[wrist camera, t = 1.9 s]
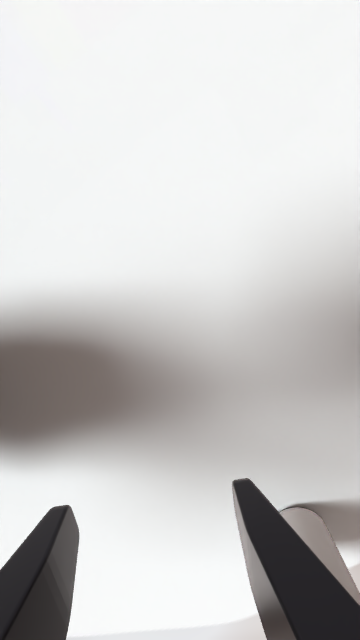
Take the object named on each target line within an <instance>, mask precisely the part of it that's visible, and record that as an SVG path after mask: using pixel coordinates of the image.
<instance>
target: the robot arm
mask: <svg viewBox="0 0 360 640" xmlns="http://www.w3.org/2000/svg"><path fill="white" fill-rule="evenodd" d="M232 489H233V499H234V508H235V514H236V519H237V524H238V529H239V533H240V538H241V543H242V548H243V553H244V558H245V563H246V567H247V572H248V577H249V581H250V585H251V589H252V593H253V596H254V600H255V603H256V606H257V610H258V613H259V616H260V619H261V622H262V626H263V629H264V632H265V635H266V638H267V640H360V605H359V604H358V603H357V602H356V600H355V599H354V598H353V597H352V596H351V595H350V594H349V592H348V591H347V590H346V589H345V588H344V587H343V586H342V584H341V583H340V582H339V581H338V580H337V579H336V577H335V576H334V575H333V574H332V573H331V572H330V571H329V569H328V568H327V567H326V566H325V565H324V564H323V563H322V561H321V560H320V559H319V558H318V557H317V556H316V554H315V553H314V552H313V551H312V550H311V549H310V548H309V546H308V545H307V544H306V543H305V542H304V541H303V540H302V538H301V537H300V536H299V535H298V534H297V533H296V532H295V530H294V529H293V528H292V527H291V526H290V525H289V523H288V522H287V521H286V520H285V519H284V518H283V517H282V515H281V514H280V513H279V512H278V511H277V510H276V509H275V507H274V506H273V505H272V504H271V503H270V502H269V500H268V499H267V498H266V497H265V496H264V495H263V494H262V492H261V491H260V490H259V489H258V488H257V487H256V486H255V484H254V483H253V482H252V481H251V480H250V479H248V478H245V479H238V480H234V481H233V482H232ZM78 545H79V529H78V525H77V522H76V520H75V517H74V514H73V511H72V508H71V507H70V506H69V505H63V506H56V507H53V508H51V509H50V510H49V511H48V512H47V514H46V515H45V516H44V517H43V519H42V520H41V521H40V522H39V523H38V525H37V526H36V527H35V528H34V530H33V531H32V532H31V533H30V534H29V536H28V537H27V538H26V539H25V541H24V542H23V543H22V544H21V545H20V547H19V548H18V549H17V550H16V552H15V553H14V554H13V555H12V556H11V558H10V559H9V560H8V561H7V563H6V564H5V565H4V566H3V567H2V569H1V570H0V640H66V636H67V631H68V626H69V621H70V615H71V607H72V599H73V590H74V581H75V572H76V563H77V554H78Z"/></svg>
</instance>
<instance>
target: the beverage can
mask: <svg viewBox="0 0 360 640" xmlns="http://www.w3.org/2000/svg"><path fill="white" fill-rule="evenodd" d="M279 513H280V514H281V515H282V517H283V518H284V519H285V520H286V521H287V522H288V523H289V525H290V526H291V527H292V528H293V529H294V530H295V532H296V533H297V534H298V535H299V536H300V537H301V538H302V540H303V541H304V542H305V543H306V544H307V545H308V546H309V548H310V549H311V550H312V551H313V552H314V553H315V554H316V556H317V557H318V558H319V559H320V560H321V561H322V563H323V564H324V565H325V566H326V567H327V568H328V569H329V571H330V572H331V573H332V574H333V575H334V576H335V577H336V579H337V580H338V581H339V582H340V583H341V584H342V586H343V587H344V588H345V589H346V590H347V591H348V592H349V594H350V595H351V596H352V597H353V598H354V599H355V600H356V602H357V603H358V604H359V605H360V593H359V591H358V589H357V587H356V585H355V583H354V581H353V579H352V577H351V575H350V573H349V571H348V569H347V567H346V565H345V563H344V561H343V559H342V557H341V555H340V553H339V551H338V549H337V547H336V545H335V543H334V541H333V539H332V537H331V535H330V533H329V531H328V529H327V527H326V525H325V523H324V521H323V520H322V518H321V517H320V516H319V515H317V514H316V513H315V512H313V511H311V510H308V509H305V508H299V507H295V508H289V509H285V510H283V511H281V512H279Z"/></svg>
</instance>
